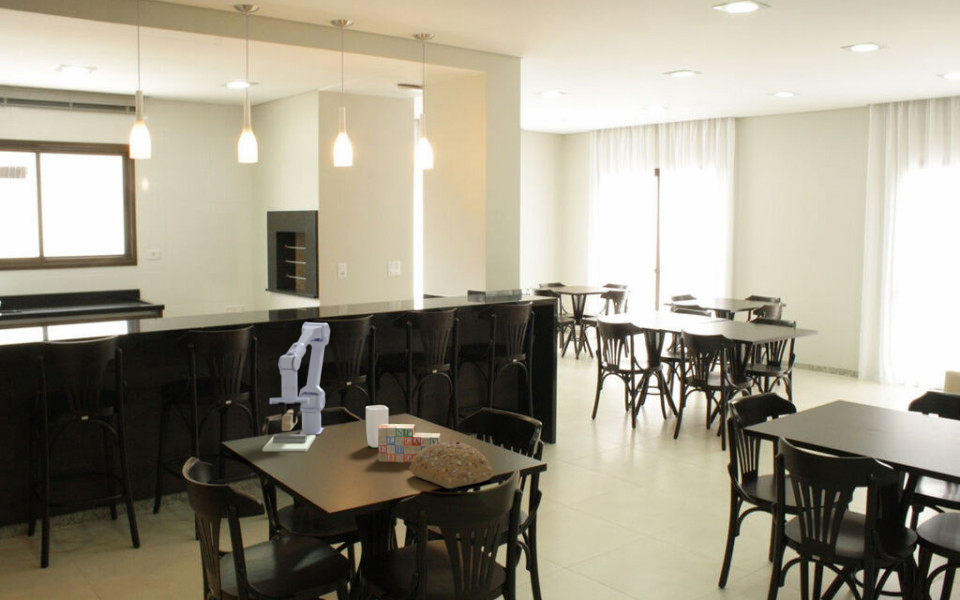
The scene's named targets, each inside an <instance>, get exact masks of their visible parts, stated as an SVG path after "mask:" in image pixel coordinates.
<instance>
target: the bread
mask: <svg viewBox="0 0 960 600" xmlns="http://www.w3.org/2000/svg"><path fill="white" fill-rule="evenodd" d="M409 469H410V472H411V474H412V475H413V476H415V477H417V478H419V479H422V480H424V481H426V482H429V483H433V484H435V485H438V486H441V487H442V488H445V489H454V488H460V487H463V486H470V485H474V484H475V485H476V484H478V483H483V482H486V481H489V479H491V478H492V477H493V476H494V474H493V473H494V470H493V469H492V467H491V463H489V460H487V459H486V457H485V455H484V454H482V453H481V452H480V451H478V450H477V448H475V447H472V446H470V445H469V444H466V443H464V442H463V443H462V442H459V441H453V440H449V441H447V440H446V441H440V443H439V442H438V443H435V444H433V445H430V446H427V447H425V448H424V449H423V450H421V451H420V452H419V453H418V454H417V455H416V456H415V458H413V459H412V462H410V466H409Z"/></svg>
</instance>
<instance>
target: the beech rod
mask: <svg viewBox="0 0 960 600" xmlns="http://www.w3.org/2000/svg"><path fill="white" fill-rule="evenodd" d="M297 423H298V418H297V419H296V423H293V408H289V409H288V410H286V413H285V415H284V416H283V417H282V416H281V431H282V432H290V431H291V430H292V429H293V428H294V427H295V425H296V424H297Z"/></svg>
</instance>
